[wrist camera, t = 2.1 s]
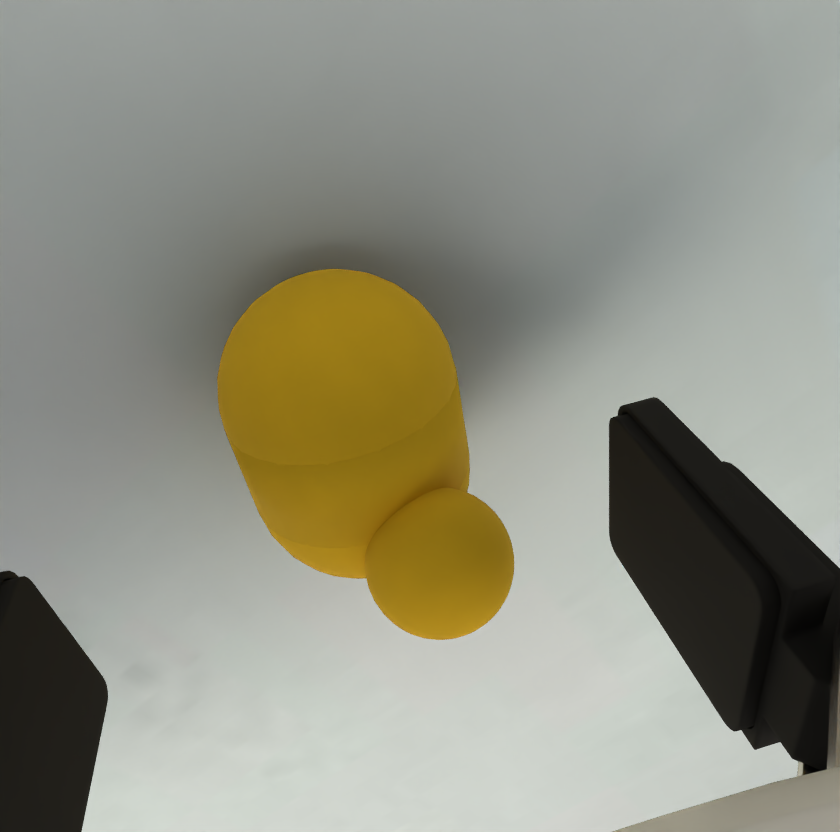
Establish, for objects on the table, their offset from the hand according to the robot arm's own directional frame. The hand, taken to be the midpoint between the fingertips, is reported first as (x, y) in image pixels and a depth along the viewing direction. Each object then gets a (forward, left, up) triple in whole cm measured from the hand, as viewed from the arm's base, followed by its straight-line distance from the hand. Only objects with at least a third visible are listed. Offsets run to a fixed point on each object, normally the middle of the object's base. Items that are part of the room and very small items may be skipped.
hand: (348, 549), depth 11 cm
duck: (0, 0, -6) cm, 6 cm away
